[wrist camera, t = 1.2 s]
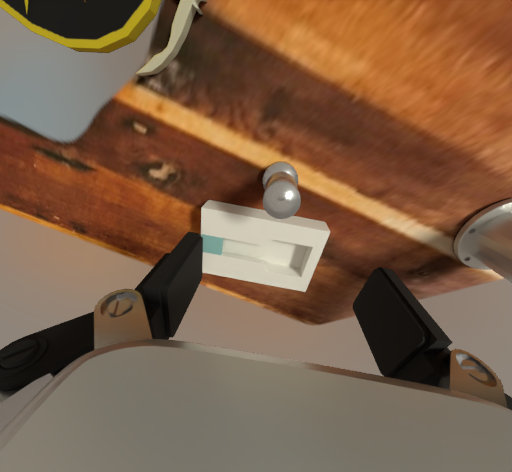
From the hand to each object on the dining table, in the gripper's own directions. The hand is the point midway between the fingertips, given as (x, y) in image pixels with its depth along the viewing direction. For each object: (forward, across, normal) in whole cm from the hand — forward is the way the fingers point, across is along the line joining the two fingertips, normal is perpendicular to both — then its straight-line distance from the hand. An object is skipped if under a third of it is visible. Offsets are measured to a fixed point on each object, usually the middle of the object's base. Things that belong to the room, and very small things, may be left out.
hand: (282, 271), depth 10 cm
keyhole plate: (+22, +1, +12) cm, 25 cm away
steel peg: (+22, 0, 0) cm, 22 cm away
